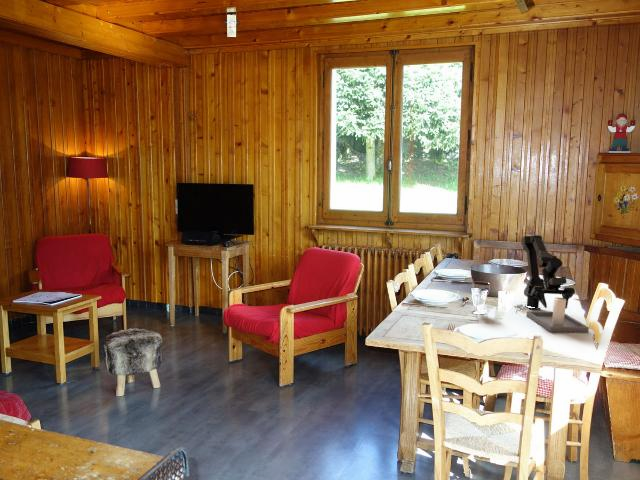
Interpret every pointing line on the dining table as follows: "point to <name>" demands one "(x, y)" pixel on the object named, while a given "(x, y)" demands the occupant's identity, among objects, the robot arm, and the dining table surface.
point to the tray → (569, 326)
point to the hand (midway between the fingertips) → (556, 307)
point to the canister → (558, 312)
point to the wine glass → (481, 286)
